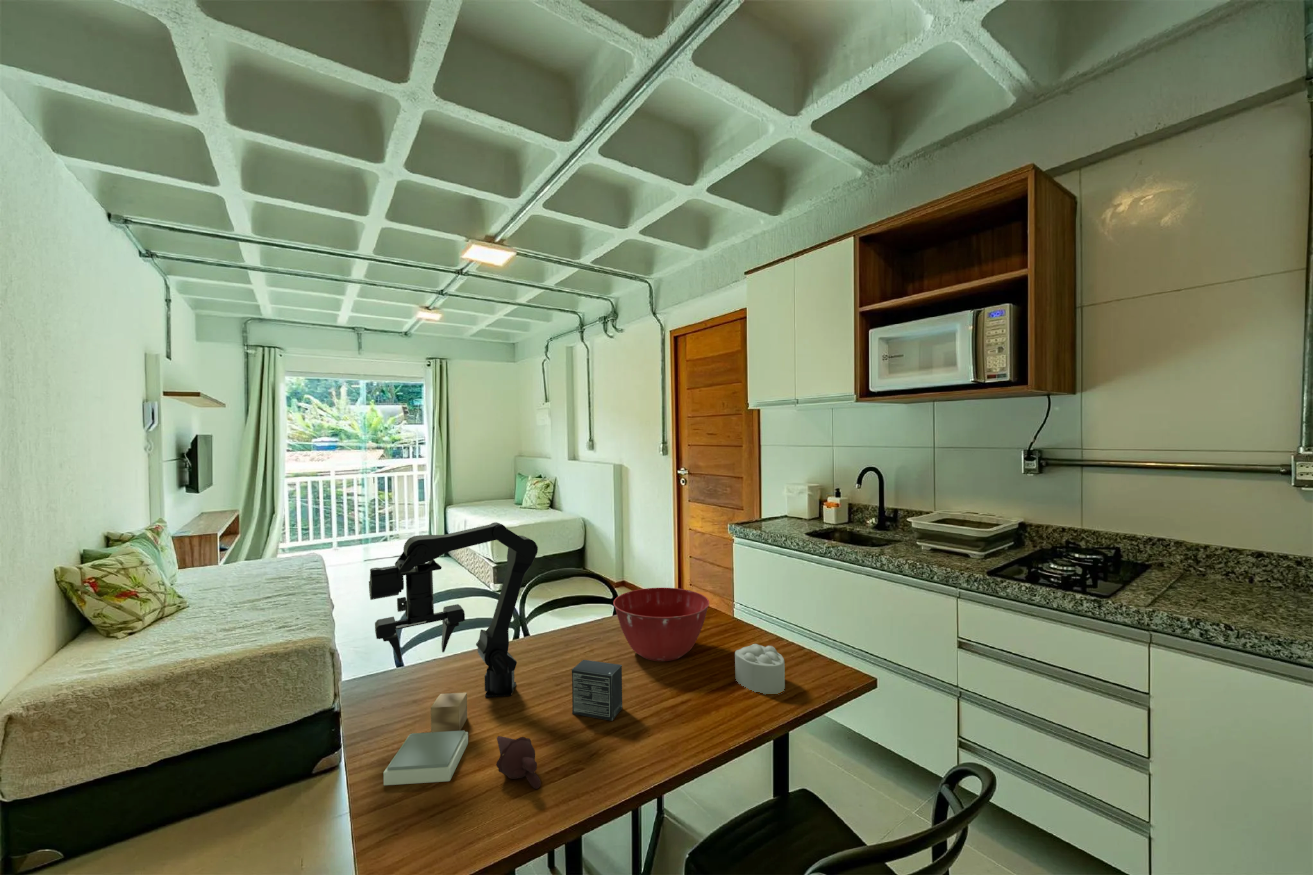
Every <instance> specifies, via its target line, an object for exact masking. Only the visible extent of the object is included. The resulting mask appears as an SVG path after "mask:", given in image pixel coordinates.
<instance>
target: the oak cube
mask: <svg viewBox="0 0 1313 875" xmlns="http://www.w3.org/2000/svg"><path fill="white" fill-rule="evenodd" d="M467 719H468V692H453V693H452V692H451V693H440V694H439V695H438V696H437V698H436V699H435V701H434V703H433V704H432V705H431V706H430V732H446V731H462V729H463V727H464V725H465V723H466V721H467Z"/></svg>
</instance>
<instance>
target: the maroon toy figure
mask: <svg viewBox="0 0 1313 875" xmlns="http://www.w3.org/2000/svg"><path fill="white" fill-rule="evenodd" d="M496 740H497V744H498V751H499V754H500V756H499V758H498V759H497V761H496V763H495V764H496V767H497V769H498V772H499V773H502V774H503V775H504V776H507V778H508V779H511V780H512V779H513V780H514V779H522V778H524V777H525V778H526V780H527V781H528V783H529V785H530V786H531V787H532V788H533V789H535V790H538V789H539V788H540V787H541V783H542V781H541V779H540V777H539V776H538V774H537V773H536V770H537V767H538V764H537V761H536V750H535V748H534V746H533V744H532V741H531V738H529V737H525V736H521V737H518V738H516V739H514V738H509V737H506V736H501V735H500V736H499V735H498V736H497V737H496Z"/></svg>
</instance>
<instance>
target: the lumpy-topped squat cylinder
mask: <svg viewBox="0 0 1313 875" xmlns="http://www.w3.org/2000/svg"><path fill="white" fill-rule="evenodd" d="M734 662H735V663H734V667H735V668H734V669H735V670H734V672H735V675H734V677H735V679H736V680H735V679H734V680H735V682H736V681H737V682H738V683H737V682H736V683H737V684H739V685H740V684H741V685H740V686H741V687H743V686H744V687H743V688H745V687H746V688H745V689H747V688H748V689H749V690H748V689H747V690H748V691H750V690H752V691H751V692H753V691H754V692H753V693H756V692H760V693H763V694H762V695H766V694H778V693H780V692H782V691H784V692H785V690H784V689H786V679H785V678H786V677H785V676H786V674H785V672H786V671H785V659H784V657H783V655H782V654H780V653H779V652H778V651H777V649H776V648H775V647H774V646H773V645H766V646H763V645H761V644H758V643H753V644H751V645H749V646H744V647H741V648H740V649H736V650H735V652H734ZM760 693H759V694H760ZM778 695H779V694H778Z"/></svg>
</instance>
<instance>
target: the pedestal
mask: <svg viewBox="0 0 1313 875" xmlns="http://www.w3.org/2000/svg"><path fill="white" fill-rule="evenodd" d="M468 744H469V732H468V731H465V729H464V730H461V731H446V732H431V731H428V732H415V733H414V732H412V733H410V734H408V736H407V738H406V739H405V741H404V742H403V744H402V745H401V747H400V748H399V749H398V751H397V752H396V753H395V755H394V757H393V758H392V759H391V760H390V763H389V764H388V765H387V767H386V768H385V770H384V771H383V786H395V785H396V786H397V785H409V784H411V785H412V784H423V783H424V784H425V783H426V784H427V783H439V782H450V781H451V779H452V777H453V775H454V773H455V772H456V768H457V767H458V765H459V763H460V760H461V759H462V756H463V754H464V753H465V751H466V748H467V747H468Z"/></svg>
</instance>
